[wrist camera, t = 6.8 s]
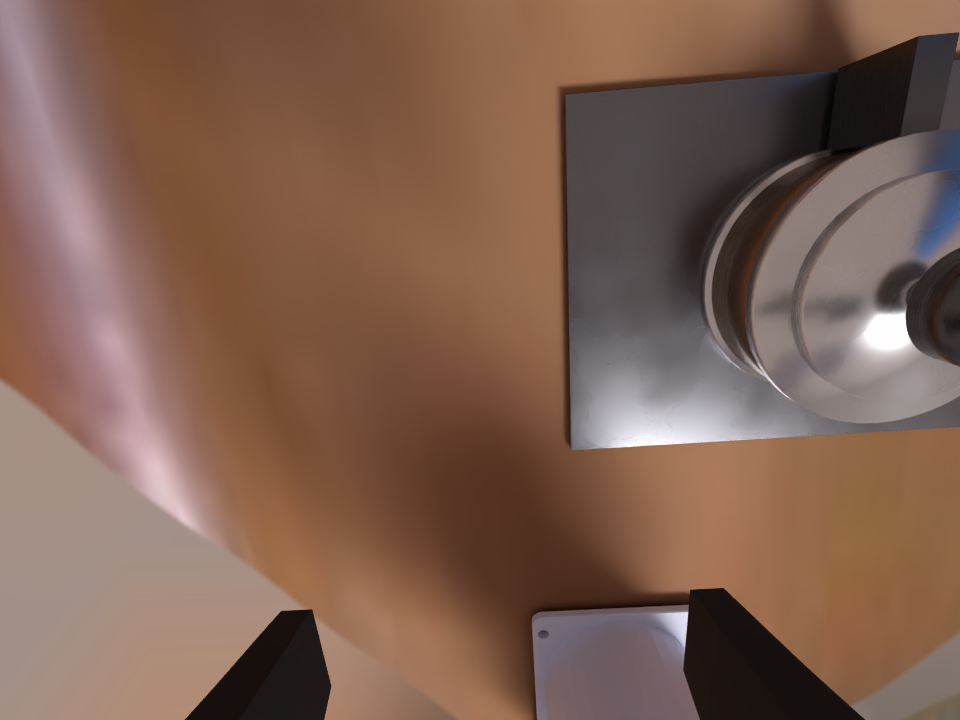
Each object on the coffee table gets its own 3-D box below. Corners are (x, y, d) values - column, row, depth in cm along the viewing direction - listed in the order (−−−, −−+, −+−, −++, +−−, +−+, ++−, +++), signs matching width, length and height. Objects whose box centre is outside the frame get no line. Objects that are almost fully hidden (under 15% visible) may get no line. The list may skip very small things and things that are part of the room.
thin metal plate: (1017, 419, 18) (1146, 469, 15) (570, 446, 19) (589, 501, 15) (1134, 46, 14) (1350, -10, 11) (564, 96, 15) (588, 60, 12)
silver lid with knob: (991, 388, 14) (1121, 433, 11) (777, 401, 14) (851, 449, 11) (1056, 161, 12) (1235, 145, 9) (807, 181, 12) (904, 171, 9)
